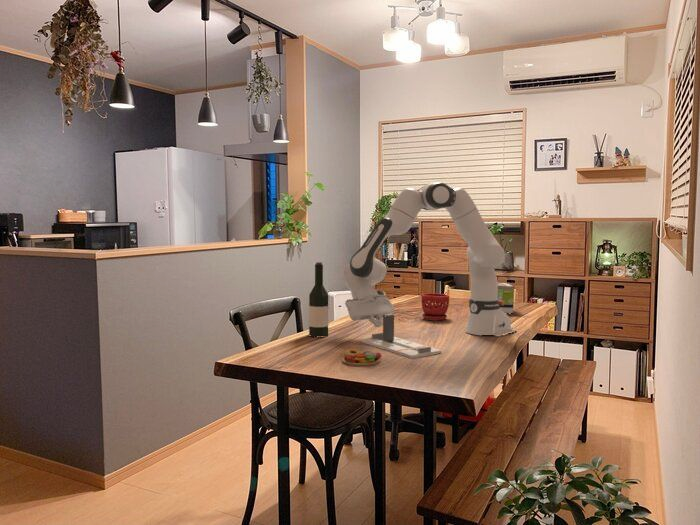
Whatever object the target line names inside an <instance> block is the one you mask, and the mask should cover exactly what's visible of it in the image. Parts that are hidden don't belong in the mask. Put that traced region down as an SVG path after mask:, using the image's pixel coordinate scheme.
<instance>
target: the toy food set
mask: <svg viewBox="0 0 700 525" xmlns="http://www.w3.org/2000/svg"><path fill="white" fill-rule="evenodd" d="M342 353H343V354H342V355H343V357H341V360H342V362H343V363H344V364H346V365H348V366H353V367H370V366H375V365H377V364H378V363H379V362H380V361H381V358H382V354H381V353H380V352H373V351H363V352H362V351H361V350H359V349H356V348H346V349H345V350H343V352H342Z"/></svg>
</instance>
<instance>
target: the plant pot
mask: <svg viewBox="0 0 700 525" xmlns="http://www.w3.org/2000/svg"><path fill="white" fill-rule="evenodd" d="M449 306H450V295H449V294H446V293H433V292H432V293H422V294H421V308H422V311H423V313H422V317H423V319H425V320H430V321H444V320H445V319H446V318H448V316H447V312H448V310H449Z"/></svg>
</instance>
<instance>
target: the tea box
mask: <svg viewBox="0 0 700 525" xmlns="http://www.w3.org/2000/svg"><path fill="white" fill-rule="evenodd" d="M497 300H498V301H499V300H501V301H503V305H500V309H501V310H502V311H503V312H504V313H513V314H514V301H515V286H514V285H512V284H510V283H507V282H498V291H497Z"/></svg>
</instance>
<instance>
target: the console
mask: <svg viewBox="0 0 700 525" xmlns="http://www.w3.org/2000/svg"><path fill="white" fill-rule="evenodd" d="M360 342H361V343H364V344H366V345H370V346H373V347H376V348H379V349H382V350H384V351H389V352H391V353H394V354H397V355H400V356H403V357H406V358H409V359H417V358H421V357H427V356H433V355H437V354H439V353H440V354H442V350H441V349H437V348H435V347H432V346H427V345H424V344H421V343H418V342H414V341H410V340H407V339H403V338H401V337H396V336H394V341H388V342H387V341H384V340H383V332H381V333H380V332H379V333H374V334H373V333H372V334H371V337H370V338H363V339H361V341H360Z"/></svg>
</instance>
